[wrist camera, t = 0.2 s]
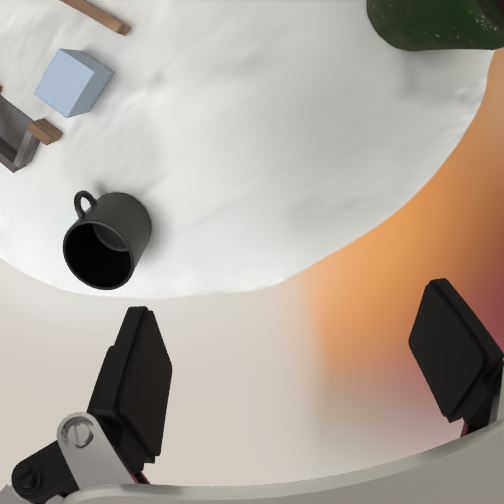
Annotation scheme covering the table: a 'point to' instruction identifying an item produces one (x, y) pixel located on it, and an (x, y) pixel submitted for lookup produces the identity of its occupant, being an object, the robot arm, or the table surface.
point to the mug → (106, 239)
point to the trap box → (32, 132)
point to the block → (72, 82)
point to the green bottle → (439, 23)
